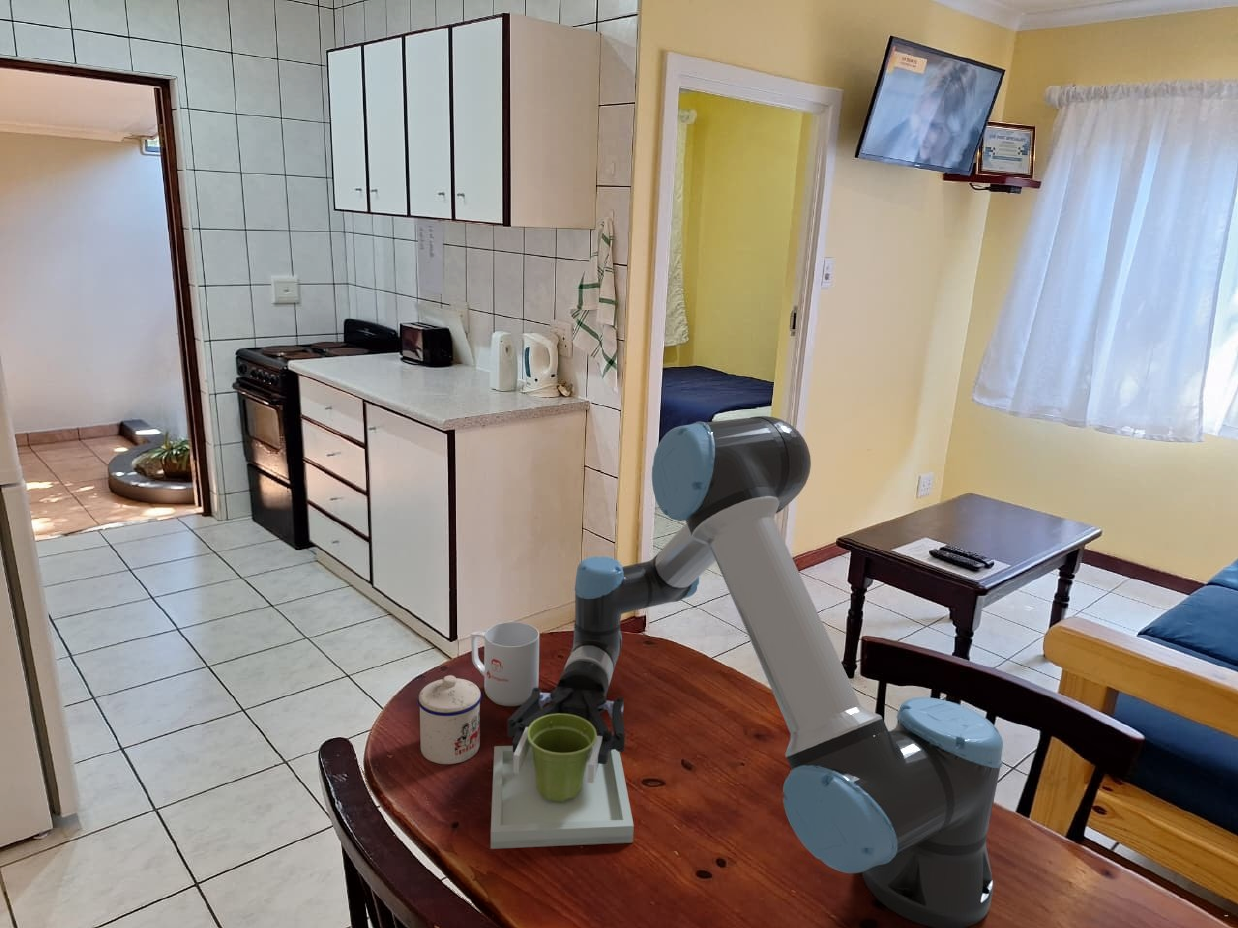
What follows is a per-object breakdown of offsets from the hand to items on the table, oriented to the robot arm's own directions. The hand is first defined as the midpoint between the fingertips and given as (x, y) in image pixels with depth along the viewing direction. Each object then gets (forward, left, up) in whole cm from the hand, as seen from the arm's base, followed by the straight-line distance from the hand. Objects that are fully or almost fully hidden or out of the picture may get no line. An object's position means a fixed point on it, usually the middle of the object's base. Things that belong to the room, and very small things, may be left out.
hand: (553, 768), depth 110 cm
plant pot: (+5, -1, -6) cm, 8 cm away
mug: (+32, +7, -8) cm, 34 cm away
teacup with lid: (+18, +14, -8) cm, 24 cm away
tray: (+4, -1, -8) cm, 9 cm away
